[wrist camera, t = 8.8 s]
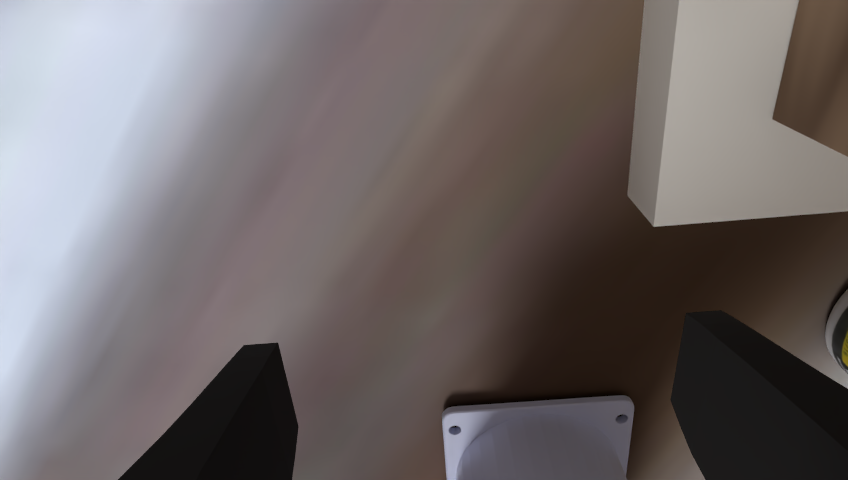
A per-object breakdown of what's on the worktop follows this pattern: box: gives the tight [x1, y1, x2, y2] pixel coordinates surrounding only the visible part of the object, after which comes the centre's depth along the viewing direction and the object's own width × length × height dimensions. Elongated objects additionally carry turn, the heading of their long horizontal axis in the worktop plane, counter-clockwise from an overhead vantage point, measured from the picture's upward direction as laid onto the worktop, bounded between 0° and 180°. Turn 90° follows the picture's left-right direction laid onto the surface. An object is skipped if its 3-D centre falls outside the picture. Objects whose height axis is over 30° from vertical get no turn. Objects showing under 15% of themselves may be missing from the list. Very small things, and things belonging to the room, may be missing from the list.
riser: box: [627, 0, 848, 227], centre depth 17 cm, size 10×10×3 cm
